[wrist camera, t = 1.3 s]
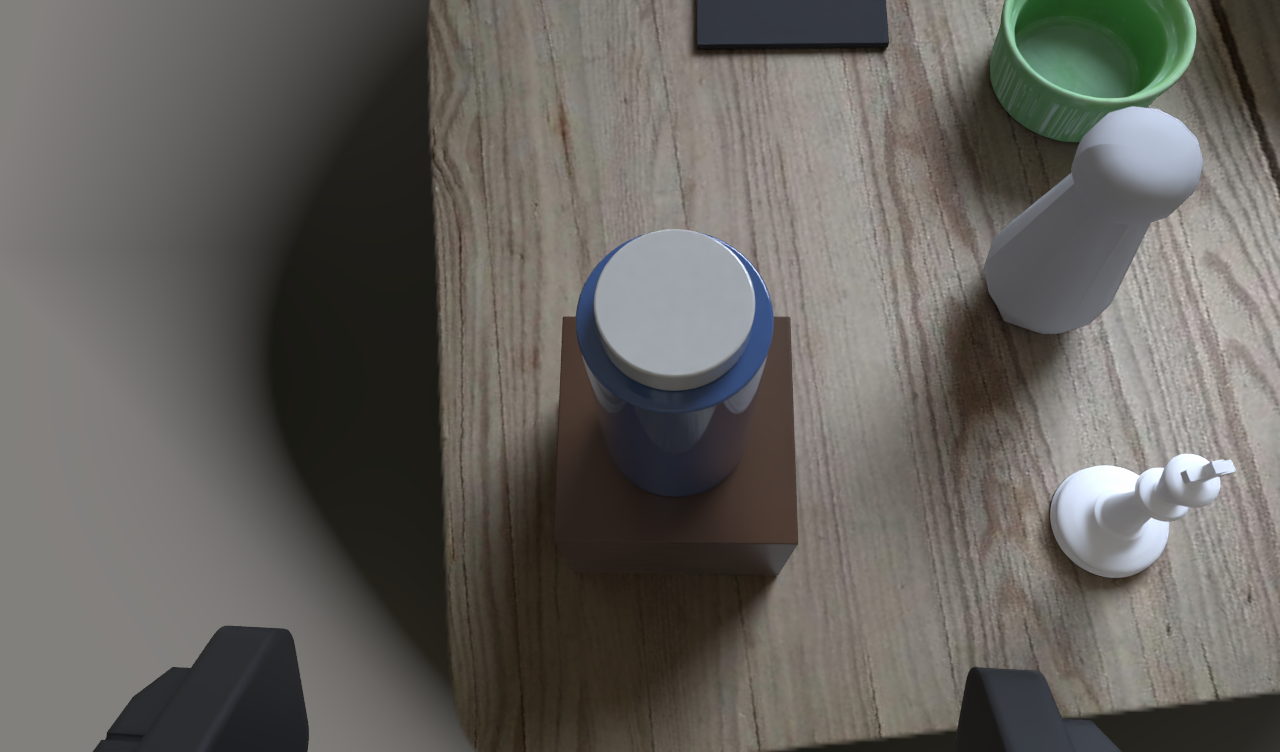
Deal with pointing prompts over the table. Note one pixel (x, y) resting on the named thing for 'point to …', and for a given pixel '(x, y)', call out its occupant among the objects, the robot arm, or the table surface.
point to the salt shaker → (1092, 221)
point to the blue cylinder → (675, 357)
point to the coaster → (791, 24)
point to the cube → (677, 526)
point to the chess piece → (1129, 511)
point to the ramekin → (1087, 59)
